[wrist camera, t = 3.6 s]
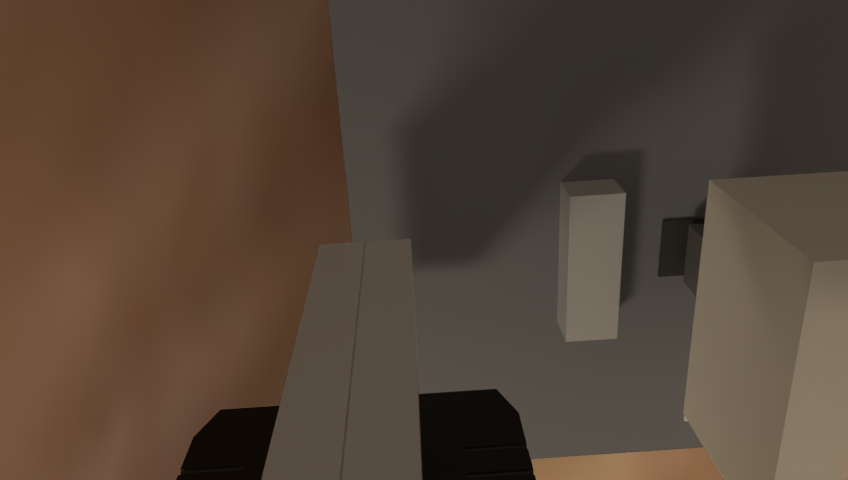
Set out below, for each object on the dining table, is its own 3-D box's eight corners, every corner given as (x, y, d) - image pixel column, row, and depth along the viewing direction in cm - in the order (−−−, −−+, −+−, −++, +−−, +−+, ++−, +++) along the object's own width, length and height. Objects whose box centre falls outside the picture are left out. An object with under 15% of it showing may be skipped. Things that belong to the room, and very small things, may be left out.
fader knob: (646, 352, 15) (765, 550, 10) (664, 144, 13) (819, 266, 8) (762, 344, 15) (936, 539, 10) (796, 136, 13) (1026, 252, 8)
